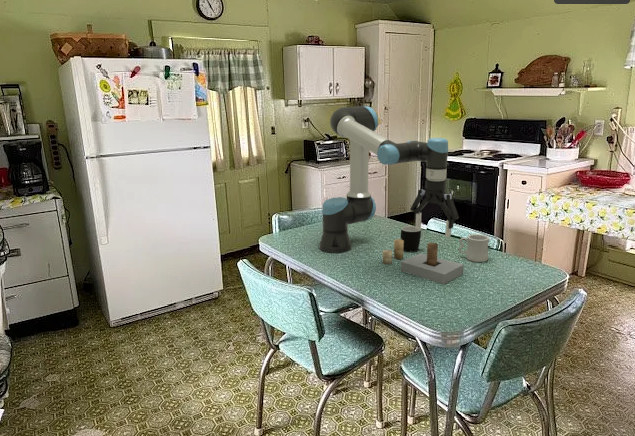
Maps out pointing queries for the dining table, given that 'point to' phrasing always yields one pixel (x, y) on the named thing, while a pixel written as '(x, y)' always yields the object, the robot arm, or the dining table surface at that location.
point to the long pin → (432, 254)
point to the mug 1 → (410, 238)
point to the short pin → (387, 257)
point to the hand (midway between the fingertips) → (432, 232)
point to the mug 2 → (476, 247)
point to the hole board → (432, 269)
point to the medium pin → (398, 248)
